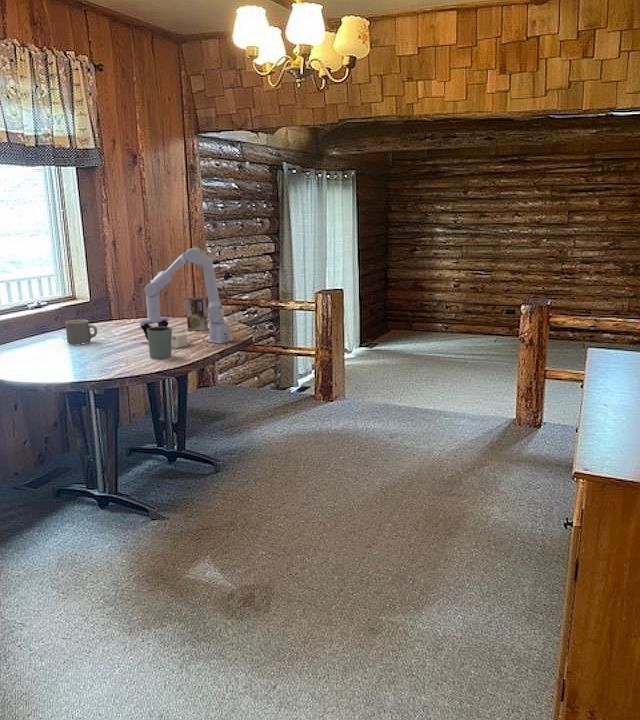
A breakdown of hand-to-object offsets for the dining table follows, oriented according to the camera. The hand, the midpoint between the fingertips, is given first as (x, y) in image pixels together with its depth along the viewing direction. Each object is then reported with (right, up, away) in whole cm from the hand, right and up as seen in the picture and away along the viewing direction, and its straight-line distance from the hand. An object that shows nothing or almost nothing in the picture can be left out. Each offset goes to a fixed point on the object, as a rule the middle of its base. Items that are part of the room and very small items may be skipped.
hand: (155, 338), depth 294 cm
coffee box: (+14, +5, +29) cm, 33 cm away
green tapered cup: (+10, -9, -30) cm, 33 cm away
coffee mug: (-34, -2, +1) cm, 34 cm away
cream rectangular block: (+11, -3, -8) cm, 14 cm away
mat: (+6, -3, -5) cm, 8 cm away
